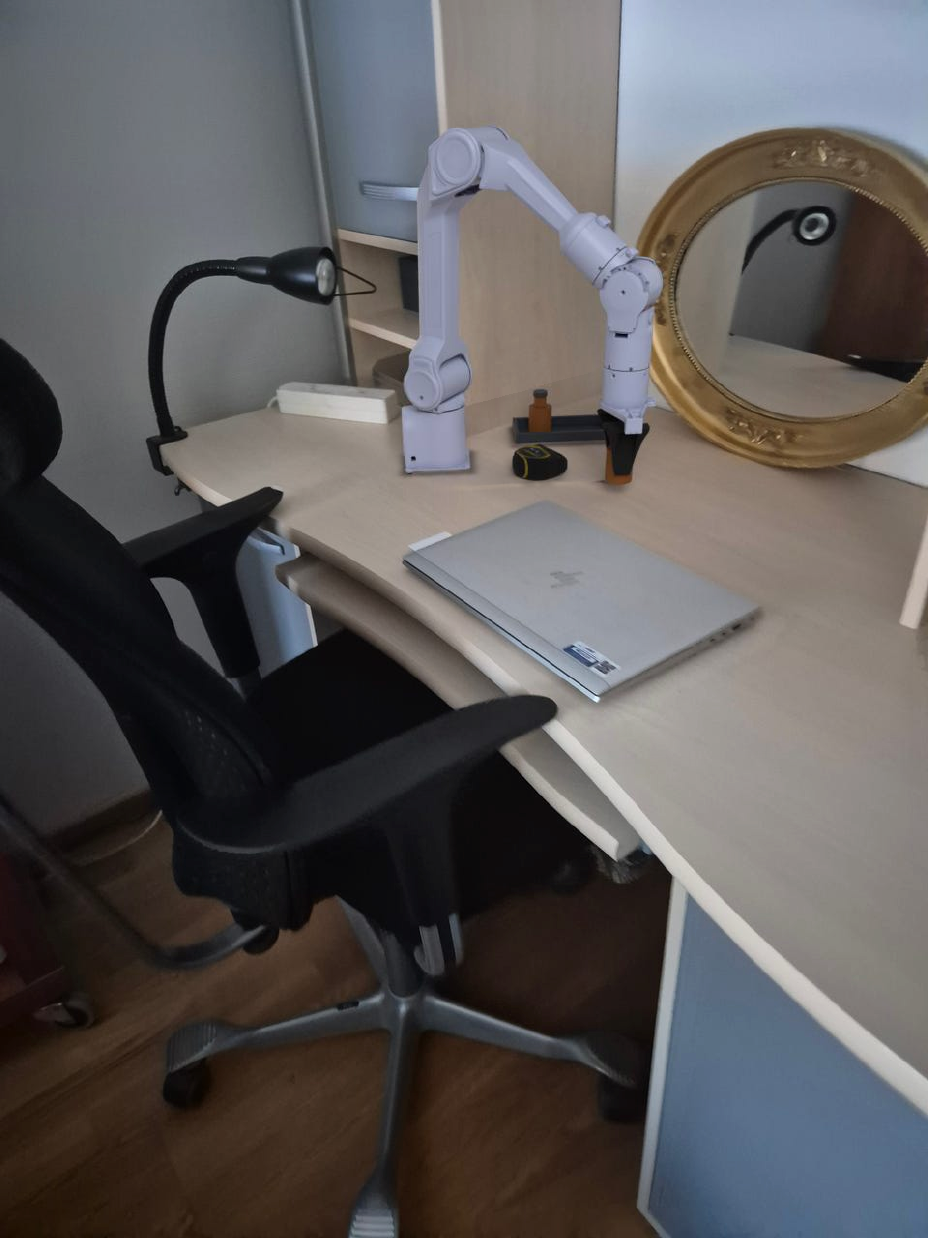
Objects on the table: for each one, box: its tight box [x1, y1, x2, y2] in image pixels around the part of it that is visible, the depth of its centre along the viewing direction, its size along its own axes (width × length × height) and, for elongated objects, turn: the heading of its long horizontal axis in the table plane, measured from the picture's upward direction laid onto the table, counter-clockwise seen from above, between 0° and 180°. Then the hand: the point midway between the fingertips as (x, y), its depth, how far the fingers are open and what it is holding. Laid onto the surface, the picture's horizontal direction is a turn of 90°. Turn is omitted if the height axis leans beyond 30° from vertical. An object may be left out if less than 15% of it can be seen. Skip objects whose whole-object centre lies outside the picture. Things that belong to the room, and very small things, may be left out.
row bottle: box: [528, 388, 552, 432], centre depth 128 cm, size 4×4×7 cm
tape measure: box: [511, 443, 569, 481], centre depth 115 cm, size 7×7×4 cm
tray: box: [512, 413, 605, 445], centre depth 130 cm, size 15×8×2 cm, turn 91°
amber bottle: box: [604, 445, 634, 486], centre depth 107 cm, size 4×4×7 cm
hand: (619, 468), depth 108 cm, fingers closed on amber bottle, 3 cm apart
